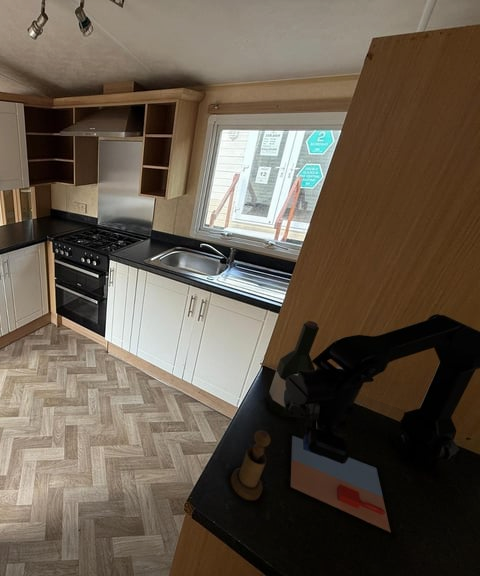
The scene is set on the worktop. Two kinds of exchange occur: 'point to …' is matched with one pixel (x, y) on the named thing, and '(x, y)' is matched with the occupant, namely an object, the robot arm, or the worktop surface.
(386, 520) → the sorting board
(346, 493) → the red spoon
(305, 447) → the blue spoon
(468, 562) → the worktop surface
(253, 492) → the mortar and pestle
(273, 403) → the wine bottle
